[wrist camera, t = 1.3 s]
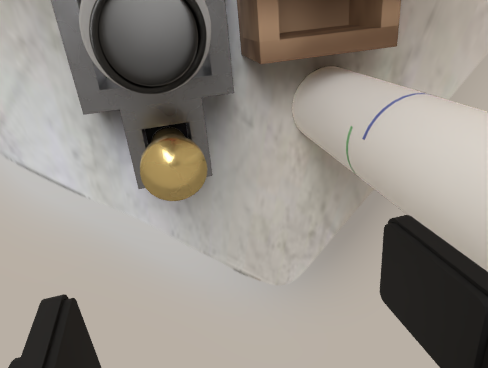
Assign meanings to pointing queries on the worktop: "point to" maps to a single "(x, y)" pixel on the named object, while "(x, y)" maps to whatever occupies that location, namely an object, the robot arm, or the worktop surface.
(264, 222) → the worktop surface
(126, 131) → the socket
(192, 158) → the pin
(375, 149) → the cylindrical container
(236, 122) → the worktop surface
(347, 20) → the rack
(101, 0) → the lotion bottle
